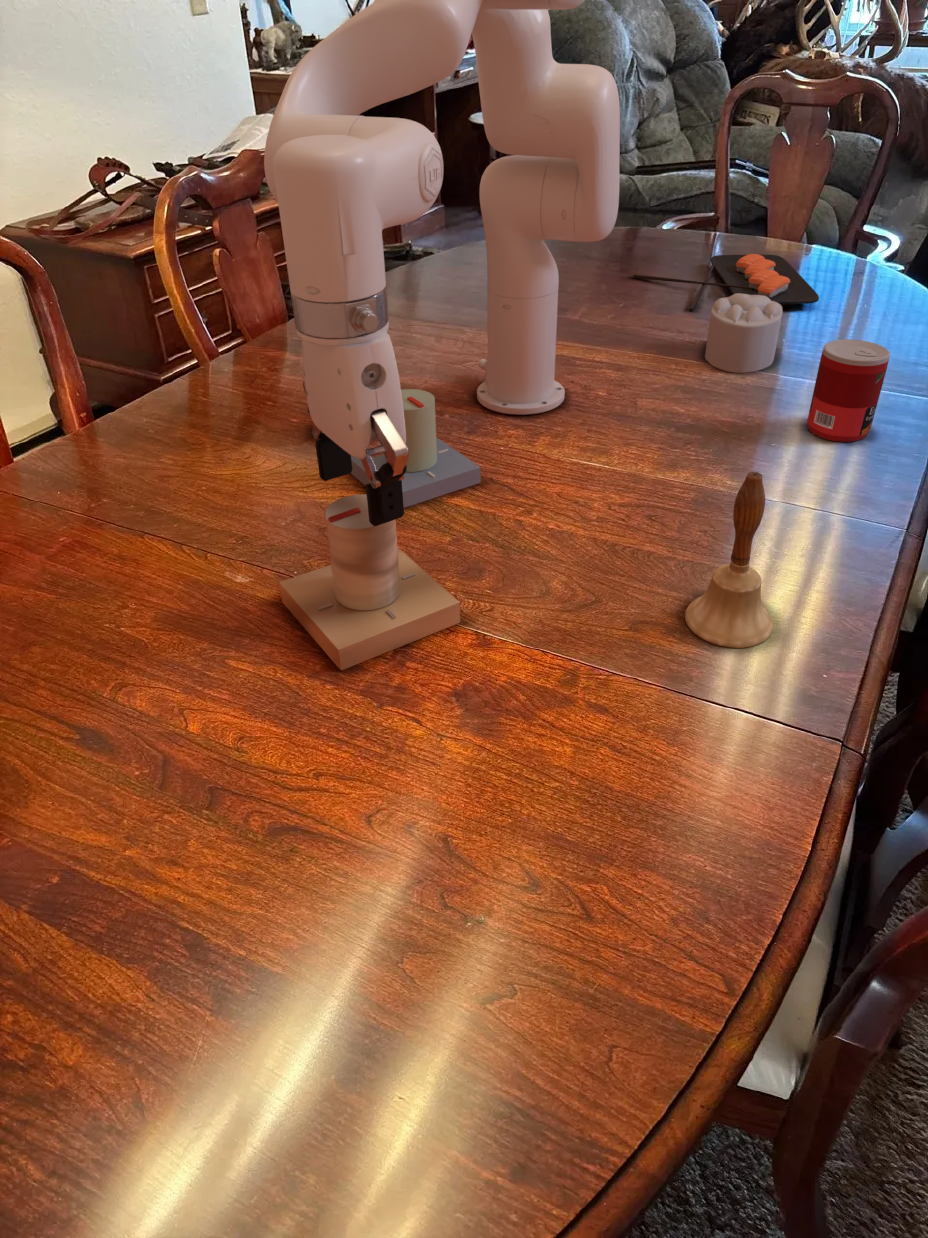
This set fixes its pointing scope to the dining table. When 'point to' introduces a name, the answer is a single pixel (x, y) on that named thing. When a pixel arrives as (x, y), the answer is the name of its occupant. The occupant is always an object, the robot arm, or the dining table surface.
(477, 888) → the dining table surface
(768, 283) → the sushi plate
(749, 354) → the lumpy-topped squat cylinder
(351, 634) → the birch turntable
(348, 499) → the beige banded cylinder
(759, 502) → the hand bell
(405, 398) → the green dial knob
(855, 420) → the canned food
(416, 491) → the blue-grey dial base
